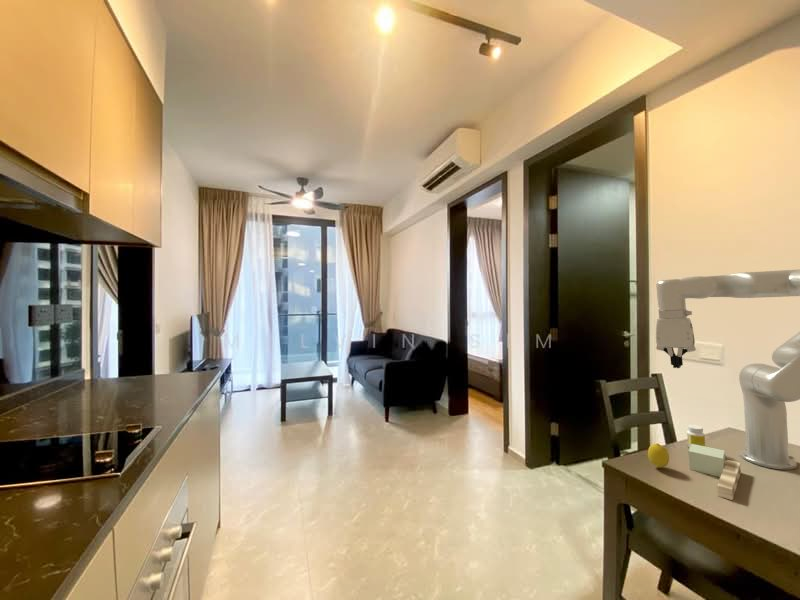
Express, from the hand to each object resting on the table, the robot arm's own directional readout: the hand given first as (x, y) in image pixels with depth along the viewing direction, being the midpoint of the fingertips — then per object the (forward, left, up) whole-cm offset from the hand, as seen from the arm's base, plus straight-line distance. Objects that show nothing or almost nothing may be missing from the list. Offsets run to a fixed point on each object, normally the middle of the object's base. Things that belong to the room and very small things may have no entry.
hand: (677, 367), depth 119 cm
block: (+6, +8, -31) cm, 32 cm away
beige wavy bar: (+12, +13, -31) cm, 36 cm away
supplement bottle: (-8, +3, -31) cm, 32 cm away
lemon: (+15, -3, -31) cm, 34 cm away
